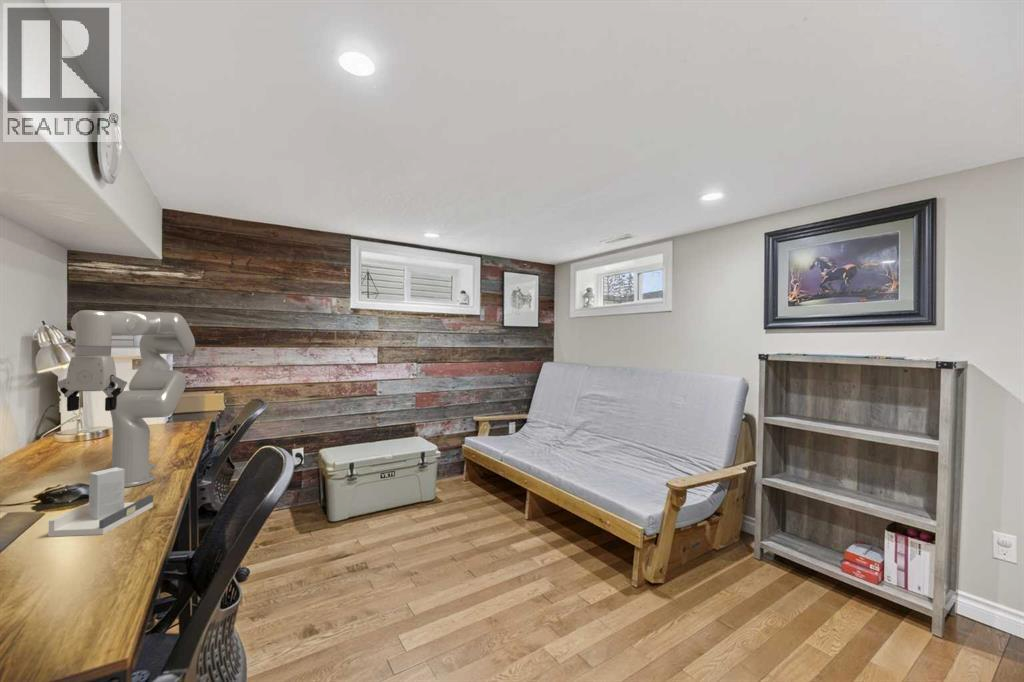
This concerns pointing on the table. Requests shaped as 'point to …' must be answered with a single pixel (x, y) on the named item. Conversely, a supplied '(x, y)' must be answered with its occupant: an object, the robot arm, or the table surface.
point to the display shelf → (85, 522)
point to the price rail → (125, 511)
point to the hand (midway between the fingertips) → (91, 410)
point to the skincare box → (106, 492)
